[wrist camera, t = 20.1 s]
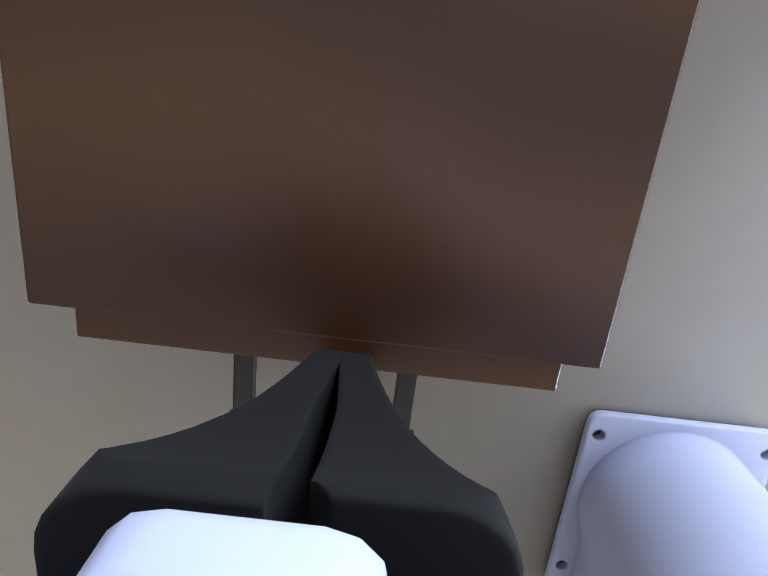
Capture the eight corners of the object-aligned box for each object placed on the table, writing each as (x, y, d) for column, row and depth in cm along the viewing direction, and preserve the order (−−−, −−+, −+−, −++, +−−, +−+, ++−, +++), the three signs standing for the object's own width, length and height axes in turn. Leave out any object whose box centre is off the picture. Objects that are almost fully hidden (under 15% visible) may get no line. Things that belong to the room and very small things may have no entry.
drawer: (487, 408, 23) (519, 540, 16) (180, 373, 23) (89, 491, 16) (591, -116, 17) (711, -241, 10) (171, -166, 17) (20, -323, 10)
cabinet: (527, 259, 22) (601, 370, 13) (171, 217, 22) (26, 303, 13) (621, -196, 17) (827, -459, 9) (161, -251, 17) (-75, -568, 9)
